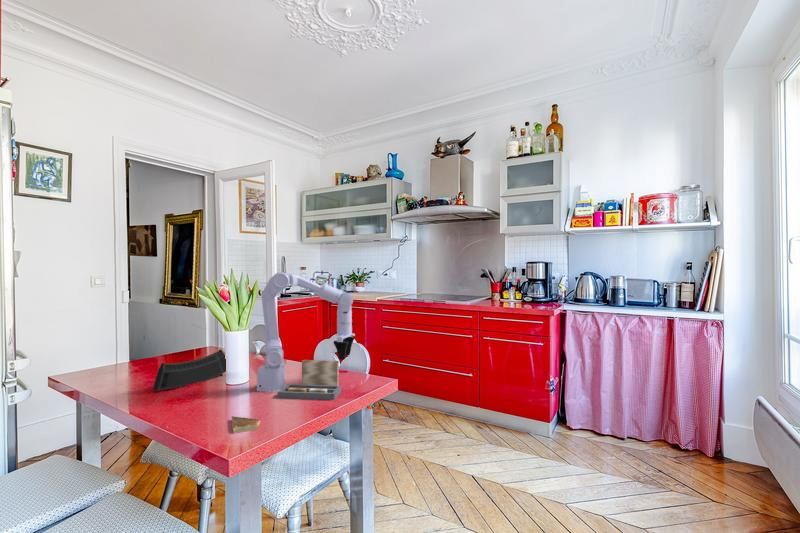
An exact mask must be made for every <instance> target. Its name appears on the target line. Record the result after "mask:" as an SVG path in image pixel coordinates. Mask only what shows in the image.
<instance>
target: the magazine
mask: <svg viewBox="0 0 800 533" xmlns="http://www.w3.org/2000/svg"><path fill="white" fill-rule="evenodd" d="M225 354H226V352H225V351H223V349H218V351H216V352H212V353H211V354H208V355H206V356H204V357H200V358H197V359H193V360H187V361H183V362H175V363H165V362H161V363H160V366H159V368H158V369H157V372H156V376H155V380H154V383H153V387H152V390H153V391H155V392H156V391H161V390H171V389H178V388H177V387H179V388H182V386H184V387H187V386H186V385H189V384H193V383H196V384H198V383H197V382H200V383H203V382H206V381H208V380H211V379H214V378H216V377H218V376H221V377H223V374H224V373H226V372H227V371H226V359H225ZM202 381H203V382H202ZM193 385H194V384H193ZM189 386H190V385H189Z"/></svg>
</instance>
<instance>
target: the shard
mask: <svg viewBox="0 0 800 533" xmlns="http://www.w3.org/2000/svg"><path fill="white" fill-rule="evenodd" d="M260 424H261V420H260V419H256V418H254V419H253V418H249V417H239V416H231V429H232V431H233V433H234V434H238V433H242V432H243V433H244V432H250V431H255V430H257V429H258V427H259V425H260Z"/></svg>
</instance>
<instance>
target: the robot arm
mask: <svg viewBox="0 0 800 533" xmlns="http://www.w3.org/2000/svg"><path fill="white" fill-rule="evenodd" d="M289 285H290V287H301V288H304V289H306V290H309V291H311V292H314V293H317V295H318V297H319V299H321V300H325V301H327V302H331V303H332V304H337V311H336V315H337V316H336V317H337V318H336V332H337V333H336V340H333V345H334V347H335V350H336V352H337V357H338V361H340V360H341V361H342V360H343V361H344V360H345V359H346V356H350V355H351V350H352V347H353V342H354V340H355V336H356V334H355V333H353V325H352V323H353V319H352V317H353V315H352V314H353V311H352V305H353V303H354V299H353V296H352V295H351V293H349V292H347V291H343V289H342V288H340V289H339V288H336V287H334V286H332V285H333V284H331V283H328V284H327V283H324V284H322V285H320V284H317V283H316V282H313V281H310V280H309V279H306V278H304V277H301V276H299V275H295V274H292V273H286V272H283V271H279V272H276V273H275V274H274V275H272V277H271V278H269V280H268V282H267V283H266V285H265V287H264V289H263V290H262V291H261V303H262V312H263V319H264V329H265V330H264V331H265V338H266V354H265V357H264V362H265V363H264V365H263V364H261V365H260V366H259V367H258V369H257V371H256V391H257V392H277V393H278V391H280V390H281V389H283V388H284V387H285V386H287V385H288V384H285V382H286V381H285V380H286V379H285V376H286V374H285V371H286V369H285V368H286V366H285V362H284V354H285V352H284V349H283V348H282V347H281V346H282V345H281V341H280V336H279V327H278V326H279V325H278V319H277V318H278V316H277V308H276V299H275V298H276V297H277V296H278V295H279V293H280V292H281V291H283V290H285V289H286V288H288V287H289Z"/></svg>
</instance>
